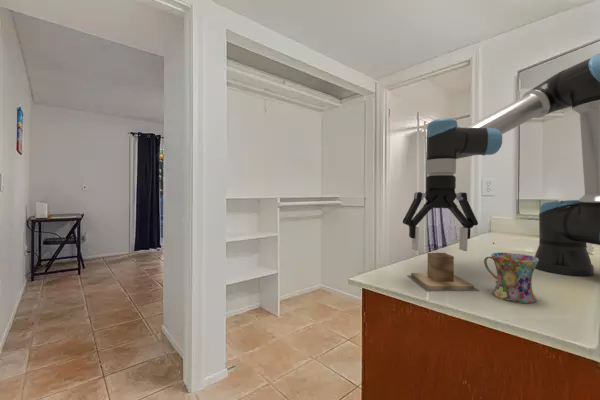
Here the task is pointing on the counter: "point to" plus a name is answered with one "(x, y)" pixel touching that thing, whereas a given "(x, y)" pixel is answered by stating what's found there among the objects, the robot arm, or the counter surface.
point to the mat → (436, 290)
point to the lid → (441, 274)
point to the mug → (513, 276)
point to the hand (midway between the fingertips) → (439, 250)
